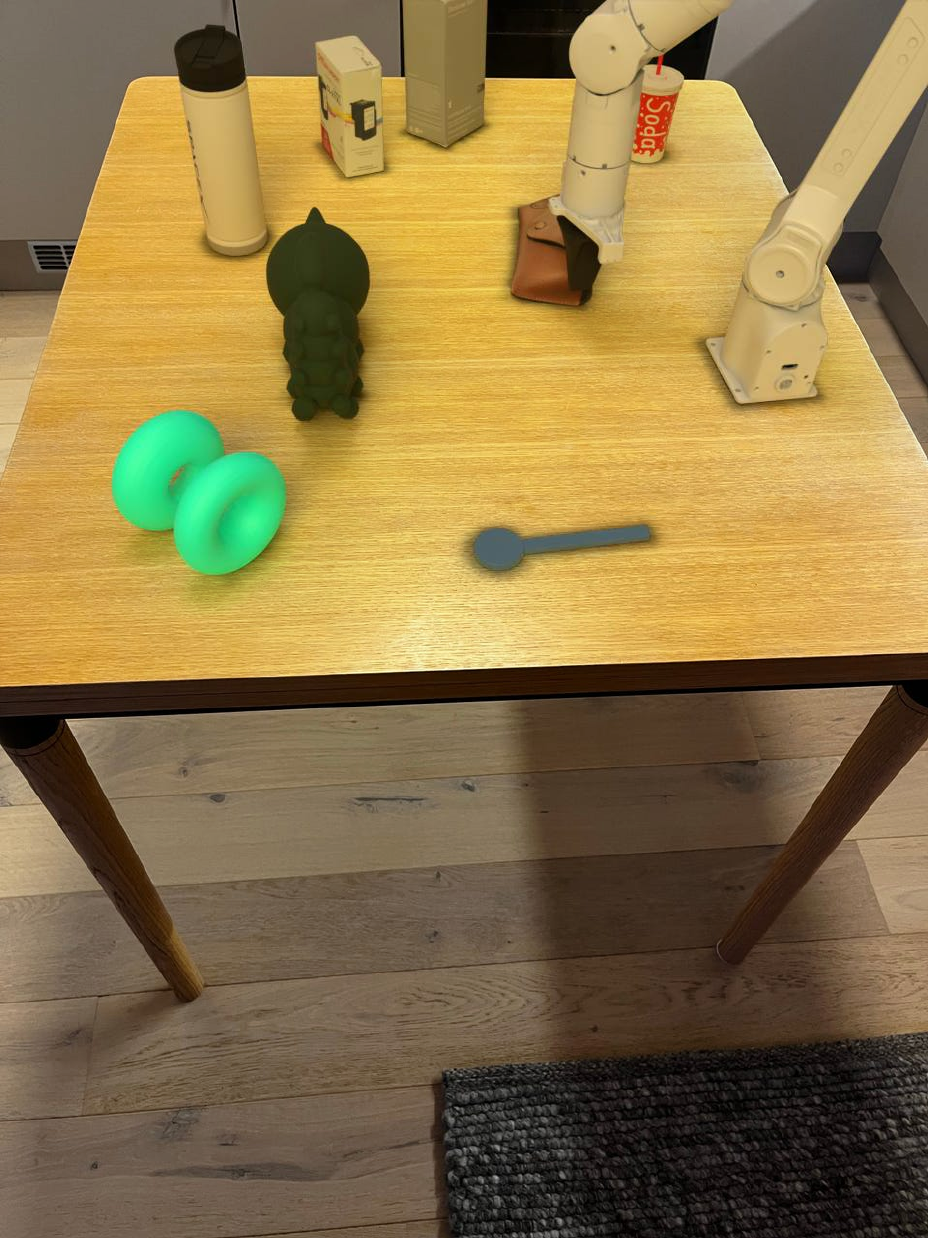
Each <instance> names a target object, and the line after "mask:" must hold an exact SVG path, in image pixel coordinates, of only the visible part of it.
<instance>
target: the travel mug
mask: <svg viewBox="0 0 928 1238" xmlns="http://www.w3.org/2000/svg"><path fill="white" fill-rule="evenodd" d="M173 52H174V53H173V54H174V59H175V64H176V69H177V76H178V85H179V88H180V95H181V101H182V107H183V111H184V118H185V123H186V128H187V135H188V139H189V146H190V150H191V151H190V152H191V157H192V162H193V167H194V173H195V178H196V184H197V189H198V194H199V200H200V201H199V202H200V205H201V212H202V217H203V222H204V228H205V233H206V239H207V243H208V246H209V247H210V248H211V249H212V250H213V251H215V252H216V253H218V254H221V255H225V256H229V257H243V256H248V255H251V254H254V253H256V252H258V251H259V250H261V249H262V248H263V247H265V245H266V244H267V241H268V231H267V224H266V217H265V209H264V208H265V207H264V201H263V193H262V184H261V176H260V169H259V162H258V154H257V146H256V138H255V131H254V123H253V116H252V115H253V114H252V107H251V100H250V93H249V84H248V76H247V73H246V67H245V59H244V51H243V42H242V41H241V39H240V37H238V36H237V34H235V33H234V32H231V31H229V30H226V26H225V25H220V24H209V23H208V24H205V26H204V28H200V29H195V30H191V31H189V32H187V33H185V34H183V35H182V36H180V37H179V38H178V39H177V41H176V42H175V43H174V46H173Z"/></svg>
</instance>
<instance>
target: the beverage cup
mask: <svg viewBox="0 0 928 1238" xmlns="http://www.w3.org/2000/svg"><path fill="white" fill-rule="evenodd" d="M664 55H665V54H663V55H661V56H658V60H657V64H646V65H645V66H644V67H643V70H644V71H645V73H644V79H643V85H642V91H641V97H640V109H639V115H638V121H637V127H636V133H635V138H634V144H633V150H632V157H631V161H633V162H637V163H641V164H652V163H656V162H660V161H661V159H662V158H663V156H664V154H665V153H664V152H665V149H666V144H667V142H668V137H669V134H670V130H671V126H672V121H673V117H674V114H675V109H676V106H677V102H678V98H679V94H680V91H681V90H682V89H683V85H684V83H685V76H684V75H683V74H682V73H681V71H679V70H677V69H675V68H673V67H670V66H667V65H663V60H664Z"/></svg>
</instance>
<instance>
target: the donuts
mask: <svg viewBox="0 0 928 1238" xmlns="http://www.w3.org/2000/svg"><path fill="white" fill-rule="evenodd" d="M223 442H224V441H223V438H222V435H221V434H220V432H219V430H218V428H217V427H216V426H215V425H214V424H213V422H212V421H211V420H210V419H208V418H207V417H206V416H203V415H202V414H200V413H197V412H195V411H191V410H185V409H177V410H170V411H164V412H163V413H159V414H157V415H155V416H153V417H151V418H149V419H148V420H146V421H145V422H144V423H142V424H141V425H140V426H139V427H137V428H136V429H135V430H134V431H133V432H132V433H131V434H130V436H129V437H127V440H126V441H125V442H124V443H123V445H122V447H121V449H120V450H119V452H118V455H117V457H116V459H115V462H114V465H113V469H112V473H111V474H112V475H111V484H110V485H111V486H110V487H111V493H112V494H111V495H112V499H113V501H114V504H115V506H116V509H117V510H118V512H119V513H120V515H121V516H122V517H123V518H124V519H125V520H126V521H127V522H129V523H130V524H131V525H133V526H134V527H137V528H139V529H142V530H146V531H153V532H158V531H159V532H160V531H167V530H171V529H173V540H174V544H175V545H174V546H175V548H176V550H177V552H178V555H179V557H180V558H181V559H182V560H183V562H184V563H185V564H186V565H187V566H188V567H190V568H191V569H192V570H194V571H195V572H198V573H199V574H200V573H201V574H203V575H208V576H222V575H226V574H230V573H233V572H235V571H238V570H241V568H244V567H245V566H246V565H248V564H250V563H251V562H253V560H255V559H256V558H257V557H258V556H259V555H260V554H261V553H262V552H263V551H264V550H265V549H266V548H267V546H268V545H269V543H270V542H271V541H272V539H273V538H274V537H275V535H276V533H277V531H278V529H279V527H280V525H281V523H282V520H283V517H284V514H285V511H286V505H287V485H286V480H285V478H284V475H283V473H282V471H281V470H280V468H279V467H278V466H277V464H276V463H275V462H274V461H273V460H271V458H268V457H267V456H265V455H263V454H260V453H257V452H252V451H237V452H233V453H229V454H226V452H225V451H226V450H225V445H224V443H223ZM181 468H182V469H181ZM180 469H181V470H180ZM179 470H180V472H179V474H178V476H177V477H176V478H175V480H174V481H173V482H172V479H173V477H174V476H175V474H176V473H177V472H178V471H179ZM171 482H172V483H171Z"/></svg>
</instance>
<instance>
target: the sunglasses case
mask: <svg viewBox="0 0 928 1238" xmlns="http://www.w3.org/2000/svg"><path fill="white" fill-rule="evenodd" d="M559 196H560V193H558V194H554V195H552V196H549V197H546V198H543V199H540V200H537V201H534V202H530V203H528V204H525V205H523V206H521V205H519V207H517V214H518V241H517V248H516V249H517V250H516V251H517V252H516V258H515V259H516V261H515V265H514V266H515V268H514V270H513V271H514V272H513V276H512V281H511V285H510V290H509V291H510V294H511V295H512V296H514V297H516V298H518V299H522V300H528V301H531V302H536V303H541V304H549V305H560V306H567V307H568V306H569V307H580V306H581V305H584V304H586V303H587V302H588V301H589V300H590V299H592V296H593V291H594V289H593V287H594V285H593V286H592V288H591V289H590V290H582V291H571V289H570V287H569V282H568V273H567V261H566V251H565V245H564V240H563V236H562V233H561V230H560V227H559V224H558V222H557V219H556V218H557V215H553V214H552V213H551V211H550V209H549V207H548V204H549V199H550V198H552V197H559Z"/></svg>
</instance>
